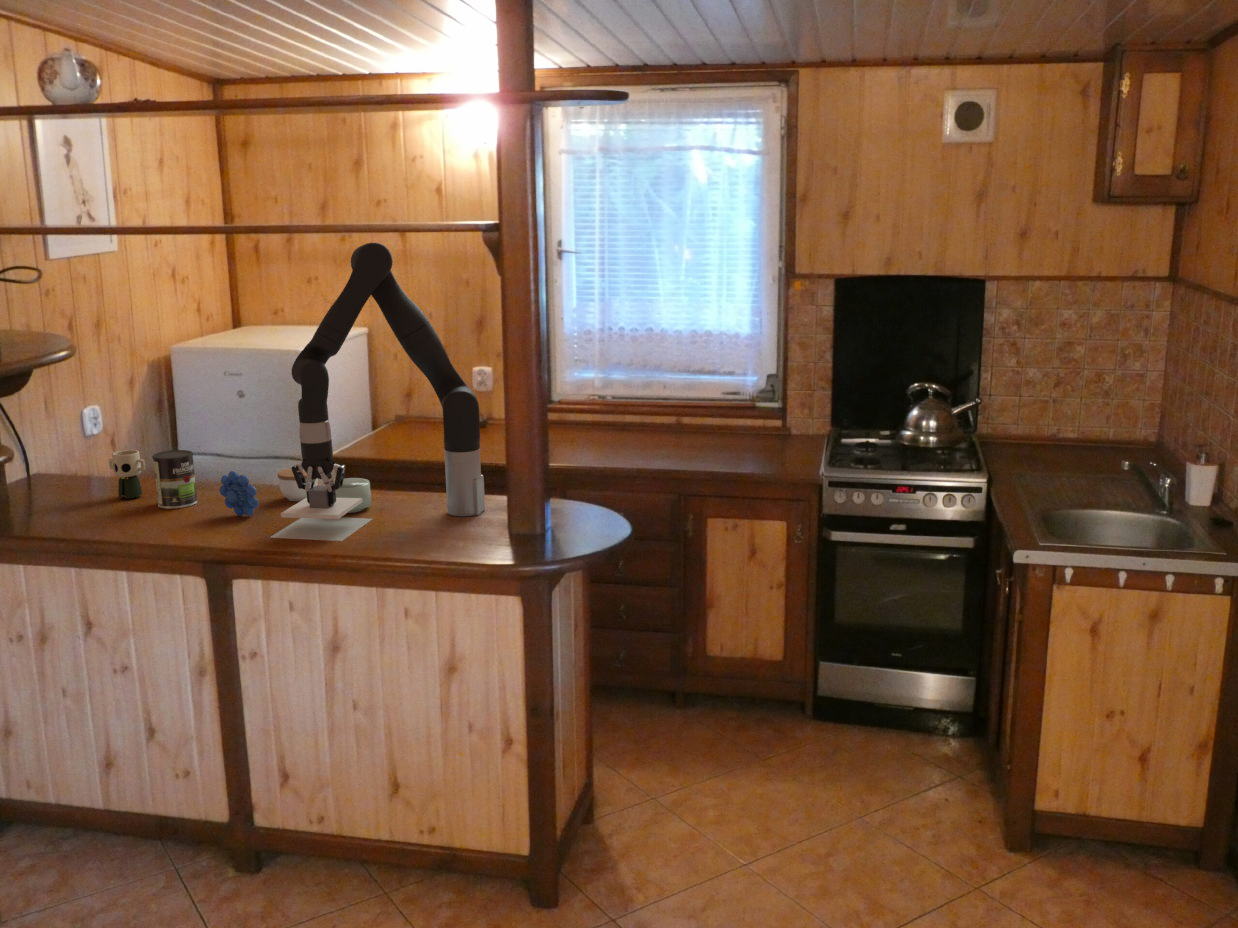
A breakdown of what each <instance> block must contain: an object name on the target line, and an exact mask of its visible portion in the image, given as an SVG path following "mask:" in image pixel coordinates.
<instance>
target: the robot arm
mask: <svg viewBox="0 0 1238 928" xmlns="http://www.w3.org/2000/svg"><path fill="white" fill-rule="evenodd" d="M393 263H394V262H393V255H392V253H391V251H390V250H389V248H388V247H387V246H386V245H384V244H382V243H379V242H369V243H368V242H367V243H364V244H362V245H360V246H358V247H357V248H355V250H354V251H353V252H352V254H351V257H350V267H351V270H352V271H351V274H350V276H349V278H348V281H347V282H346V284H345V286H344V287H343V289H342V291H341V293H340V294H339V296H338V297H337V298H336V299H335V300H334V302H333V303H332V305H331V306H330V308H329V309H328V311H327V312H326V314H324V317H323V318H322V320H321V322H320V323H319V325H318V326H317V328H316V331H315V332H314V334H313V337H311V339H310V341H309V342H308V343H306V345H305V346H304V348H303V349H302V350H301V352H300V353H299V354H298V355H297V357H296V358H295V359H294V362H293V363H292V366H291V377H292V379H293V380H294V382H296V383H297V384H298V385H300V387H301V389H300V390H301V398H300V399H299V400H298V402H297V403H298V404H297V408H298V409H297V410H298V420H299V428H298V429H299V430H298V433H299V441H300V443H299V444H300V450H301V451H300V453H301V459H302V461H301V463H297V464H295V465H293V466H291V467H290V468H291V469H292V472H293V475H294V477H295V480H296V483H297V485H298V488H299V489H304V490H306V493H307V502H308V503H309V493H308V490H310V489H312V488H313V487H314V483H315V481H316V479H317V478H318V480H322V482H323V484H324V486H326V488H327V490H328V492H327V493H328V504H329V506H333V505H334V504H335V502H336V492H335V491H336V490H337V489H339V488H340V487H342V485H343V480H344V479H345V474H346V470H347V468H346V467H347V466H346V465H345V464H341V465H340V464H337V463H336V462H335V460H334V458H333V457H334V451H333V441H332V430H331V429H332V428H331V424H330V420H329V418H330V417H329V409H328V397H329V386H330V385H329V384H330V377H329V372H328V369H327V367H326V363H327V362H328V361H329V359H330V358H331V357H334V356H336V355H337V354H338V353H339V351H340V350H341V348H342V346H343V345H344V342H345V341H346V339H347V337H348V335H349V334H350V332H351V330H352V328H353V327H354V325H355V322H356V321H357V319H358V317H359V315H360V313H361V311H362V310H363V308H364V306H365V304H366V303H367V301H368V300H369V298H370V297H372V298H373V300H374V301H375V303H376V304H377V305H378V307H379V309H380V311H381V313H382V314H383V317H384V318H385V320H386V322H387V324H388V326H389V327H390V329H391V331H392V333H393V334H394V336H395V337H396V339H397V341H398V342H399V344H400V345H401V347H402V349H403V350H404V352H405V354H406V355H407V356H408V357H409V359H410V360H411V361H412V362H413V364H414V365H415V366H416V368H417V369H418V370H420V372H421V373H422V374H423V375H424V376H425V378H427V380H428V383H430V385H431V387H432V389H433V390H434V392H435V394H436V396H437V398H438V400H439V402H440V405H441V407H442V420H443V421H442V422H443V448H444V451H443V452H444V466H445V467H444V468H445V470H444V471H445V487H446V488H445V490H446V492H445V493H446V509H447V514H448V515H449V516H454V517H471V516H479V515H481V513H482V512H483V511H485V509H486V503H485V502H486V501H485V480H484V478H485V477H484V474H482V468H481V467H482V466H481V443H480V442H481V428H480V427H481V425H480V424H481V422H480V405H479V404H480V403H479V401H478V399H477V396H476V394H475V393H474V392H473V390H472V389H471V388H470V387H469V385H468V384H466V382H465V381H464V380H463V378H462V377H461V376H460V374H459V373H458V371H457V370H456V369H455V367H454V365H453V364H452V361H451V360H450V358H449V356H448V353H447V351H446V349H445V346H444V345H443V343H442V341H441V339H440V337H439V336H438V335H439V334H438V333H437V331H436V330H435V328H434V327H433V325H432V323H431V322H430V321H429V319H428V317H427V316H426V315H425V313H424V312H423V311H422V310H421V308H420V307H419V306H418V305H417V304H416V303H415V302H414V301H413V300H412V299H411V297H409V296H408V295H407V294H406V292H405V291H404V290H403V289H402V287H401V286H400V284H399V282H398V281H397V279H396V278H395V277H396V276H394V274H393V272H392V271H393V270H392V267H393ZM303 469H304V470H305V472H306V473H307V478H306V480H305V478H304V475H303ZM333 470H334V474H336V475H335V477H334V476H333V473H332V472H333ZM334 478H335V479H334ZM334 480H335V483H334ZM309 505H310V503H309Z"/></svg>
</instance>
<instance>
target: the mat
mask: <svg viewBox="0 0 1238 928" xmlns="http://www.w3.org/2000/svg"><path fill="white" fill-rule="evenodd" d="M372 520H373V518H363V517H344V516H342V517H340V518H339V519H322V518H297V520H295V521H294V522H292V523H291V524H289V525H287V526H285V527H284V528H282V529H280V530H279V531H277V532H276V533H274V534H273V535H271V536H270V537H269V538H271V539H273V538H274V539H290V540H291V539H293V540H314V541H329V542H331V541H332V542H343V541H344V540H345V539H348V538H349V536H351V535H353V534H354V533H355V532H357V531H359V530H360V529H361V528H362V527H364V526H365V525H366V524H368V523H370V521H372Z"/></svg>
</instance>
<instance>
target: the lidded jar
mask: <svg viewBox="0 0 1238 928" xmlns="http://www.w3.org/2000/svg"><path fill="white" fill-rule="evenodd" d="M291 468H292V467H288V468H286V469H281V470H280V471H278V472H277V479H278V486H279V489H280V491H281V493H282V495H283V496H284V497H285V498H286V499H288V502H289V501H290V502H300V501H302V500H303V499H305V498H307V493H306V490H304V489H299V488H298V485H297V483H296V480H295V477H294V475H293V472H292V469H291ZM303 475H304V478H305V480H306V478H307V473H306V472H305V470H304V469H303ZM318 482H319V479H318V478H317V479H316V481H315V483H314V487H315V486H319V485H318V484H319V483H318Z"/></svg>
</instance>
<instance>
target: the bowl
mask: <svg viewBox="0 0 1238 928" xmlns="http://www.w3.org/2000/svg"><path fill="white" fill-rule="evenodd" d="M334 483H335V479H334ZM335 492H336V498H362V501H363V502H362V503H360V504H359V505H358V506H356V507H355V508H353V509H352V510H350V511H349V512H347V513H346V514H354V513H358V512H363V510H365V509H366V508H368V507H370V506H371V505H372V498H371V497H372V495H371V482H370V480H369V479H367V478H362V477H361V478H360V477H348V478H346V477H344V480H343V485H342V487H340V488H339V489H337V490H336V491H335Z"/></svg>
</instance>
